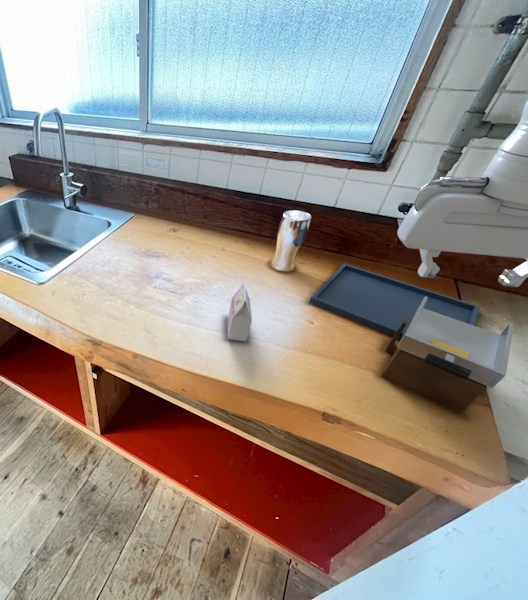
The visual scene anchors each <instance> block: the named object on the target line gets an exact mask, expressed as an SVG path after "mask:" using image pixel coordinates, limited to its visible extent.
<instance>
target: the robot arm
mask: <svg viewBox="0 0 528 600" xmlns="http://www.w3.org/2000/svg"><path fill="white" fill-rule="evenodd" d="M396 233H397V237H398V239H399V240H400V242H401V243H402V244H403V246H404V247H406V248H407V249H415V250H419V253H420V258H421V264H420V265H419V267H418V269H417V274H418V275H419V277H420V278H430V279H431V278H432V279H434V278H436V276H437V274H438V273H439V272H440V270H441V268H440V266H439V265H438V264H437V263H436V262H435V261H434V260H433V258H438V257H439V255H440V254H441V253H442V252H447V253H448V252H449V253H458V254H470V255H471V254H473V255H481V256H493V257H503V258H504V257H505V258H516V259H524V260H526V261H524V262H522V263H520V264H519V265H517V266H515V268H513V269H507V268H506V269H504V270H503V271H502V272H501V275H499V276H498V278H497V281H498V283H500V284H501V285H502V286H503V287H512V288H519V287H520V286H521V285H522V283H524V281H525V280H526V279H527V278H528V99H526V102H525V104H524V107H523V110H522V113H521V117H520V120H519V122H518V123H517V126H515V129H513V131H512V132H511V133H510V134H509V135H508V136H507V137H506V138H505V139H504V140H503V141H502V143H501V144H500V145H499V146H498V149H497V151H496V152H495V154H494V155H493V157H492V159H491V161H490V162H489V164H488V165H487V167H486V169H485V170H484V172H483V173H482V175H481V177H478V176H477V177H475V176H469V177H468V176H467V177H466V176H465V177H457V176H451V175H449V176H440V177H439V178H438V179H435V180H431V181H429V182H428V183H426V184H424V185H423V186H422V187H420V189H419V191H418V193H417V194H416V197H415V199H414V203H413V206H412V207H411V208H410V210H409V211H408V212H407V214H406V215H405V217H404V218H403V220H402V222H401V223H400V225H399V227H398V228H397V231H396Z"/></svg>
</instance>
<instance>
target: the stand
mask: <svg viewBox="0 0 528 600" xmlns="http://www.w3.org/2000/svg"><path fill="white" fill-rule="evenodd" d="M410 317H411V316H410V315H407V316H406V317H405V319H404V321H403V322H402V324H401V325H400V327H399V328H398V330H397V332H396V333H395V335H394V336H393V337H392V338H391V339H390V340H389V343H388V344H387V345H386V348H385V350H384V351H385V352H386V353H390V351H391V349H392V348H393V346H395V343H396V341H397V340H398V339H397V338H398V337H399V335H400V334H401V332H402V331H403V329H404V328H405V326H406V325H407V323H408V321H409V319H410ZM423 360H424V359H422V358H419V357H417V356H415V355H412V354H410V353H408V352H405V351H403V350H400V349H398V348H397V347H396V349H395V351H394V352H393V354H392V356H391V357H390V360H389V362H388V363H387V366H386V367H385V369H384V371H383V373H382V375H381V377H382V378H384V379H386V380H389V381H391V382H392V383H394V384H397V385H398V386H401V387H403V388H406V389H407V390H409V391H411V392H414V393H416V394H418V395H420V396H422V397H424V398H427V399H428V400H431V401H432V402H434V403H436V404H439V405H440V406H443V407H445V408H447V409H449V410H451V411H454V412H455V413H458V414H460V415H461V414H462V413H463V412H464V411H465V410H466V409H467V408H468V407H469V406H471V404H472V403H473V402H475V400H476V399H477V398H478V397H479V396H480V395H481V394H482V393H484V391H485V390H486V389H487V387H488V386H486V385H483V384H481V383H479V382H476V381H474V380H471V379H469V378H467V379H466V380H465V379H462V378H460V377H458V376H455V375H453V374H451V373H448V372H446V371H444V370H441V369H439V368H437V367H434V366H432V365H430V364H427V363H425V362H423Z"/></svg>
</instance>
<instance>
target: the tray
mask: <svg viewBox="0 0 528 600" xmlns="http://www.w3.org/2000/svg"><path fill="white" fill-rule="evenodd" d="M425 296H426V297H428V299H427V301H426V303H425V305H424V307H423V308H424V309H427V310H430V311H433V312H436V313H439V314H441V315H444V316H447V317H450V318H453V319H456V320H459V321H462V322H465V323H467V324H470V325H473V326H476V322H477V319H478V316H479V313H480V309H481V306H480V305H478V304H474V303H471V302H467V301H464V300H462V299H458V298H456V297H452V296H449V295H445V294H442V293H439V292H436V291H433V290H430V289H427V288H423V287H420V286H418V285H414V284H412V283H408V282H404V281H401V280H398V279H395V278H393V277H389V276H387V275H382V274H379V273H377V272H374V271H370V270H367V269H364V268H360V267H357V266H354V265H351V264H348V263H342V265H341V266H339V268H338V269H337V270H336V271H335V272H334V273H333V275H331V276H330V277H329V278H328V279H327V280H326V282H325V283H324V284H322V286H321V287H319V289H318V290H317V291H316V292H315V293H314V294H313V295H312V296H311V298H310V300H309V302H308V303H309V304H311V305H314V306H316V307H319V308H321V309H324V310H326V311H329V312H330V313H333V314H336V315H338V316H341V317H343V318H346V319H349V320H351V321H353V322H355V323H358V324H361V325H362V326H366V327H367V328H370V329H373V330H375V331H378V332H380V333H383V334H385V335H388V336H390V337H392V338H393V336H394V335H395V333H396V332H397V330H398V328H399V327H400V325H401V324H402V322H403V321H404V319H405V317H406V316H407V315H410V316H411V317H410V319H409V321H408V323H407V325H406V326H405V328H404V329H403V331H402V332H401V334H400V335H399V337H398V338H397V340H399V341H400V340H401V338H402V336H403V335H404V333H405V331H406V329H407V327H408V325H409V323H410V321H411V319H412V317H413V316H414V314H415V312H416V310H417V308H418V306H419V305H420V303H421V302H422V300H423V299H424V297H425Z"/></svg>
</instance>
